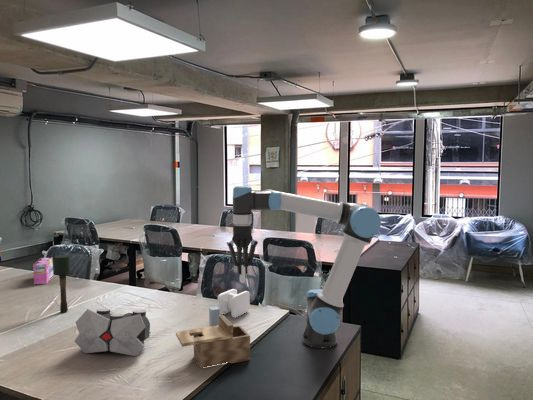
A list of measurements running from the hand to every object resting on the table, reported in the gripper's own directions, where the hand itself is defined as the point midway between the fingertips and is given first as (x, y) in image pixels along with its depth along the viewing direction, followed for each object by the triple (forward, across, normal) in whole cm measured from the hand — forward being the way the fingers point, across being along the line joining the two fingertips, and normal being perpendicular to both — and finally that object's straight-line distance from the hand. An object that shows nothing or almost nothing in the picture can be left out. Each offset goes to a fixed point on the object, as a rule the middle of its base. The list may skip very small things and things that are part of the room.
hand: (242, 281), depth 172 cm
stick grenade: (+31, +70, -85) cm, 114 cm away
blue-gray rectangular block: (+30, +8, -14) cm, 34 cm away
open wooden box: (+30, +9, 0) cm, 32 cm away
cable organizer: (+31, -12, -46) cm, 57 cm away
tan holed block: (+20, +16, 0) cm, 26 cm away
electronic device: (+31, +48, -26) cm, 62 cm away
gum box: (+31, +85, -159) cm, 183 cm away
